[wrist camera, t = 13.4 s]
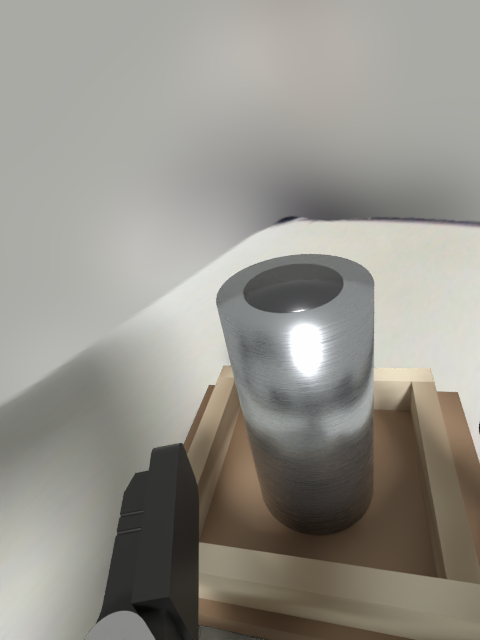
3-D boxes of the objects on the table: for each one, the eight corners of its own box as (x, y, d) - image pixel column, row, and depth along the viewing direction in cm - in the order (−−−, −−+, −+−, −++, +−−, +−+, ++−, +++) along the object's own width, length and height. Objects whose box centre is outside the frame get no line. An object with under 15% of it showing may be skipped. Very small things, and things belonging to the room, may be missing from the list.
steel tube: (250, 527, 17) (195, 330, 11) (270, 434, 21) (236, 257, 15) (375, 543, 15) (377, 328, 10) (371, 441, 19) (371, 248, 14)
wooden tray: (126, 609, 16) (99, 570, 14) (212, 396, 25) (201, 360, 24) (540, 698, 12) (565, 658, 10) (455, 405, 21) (462, 362, 20)
